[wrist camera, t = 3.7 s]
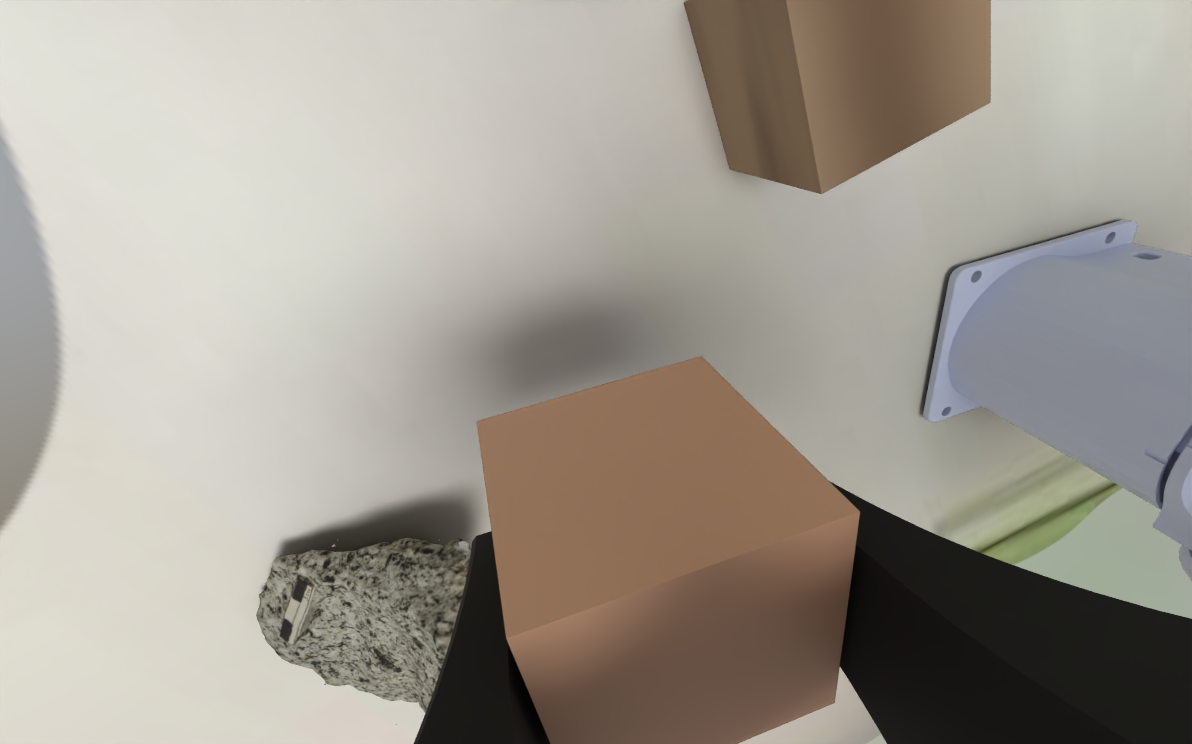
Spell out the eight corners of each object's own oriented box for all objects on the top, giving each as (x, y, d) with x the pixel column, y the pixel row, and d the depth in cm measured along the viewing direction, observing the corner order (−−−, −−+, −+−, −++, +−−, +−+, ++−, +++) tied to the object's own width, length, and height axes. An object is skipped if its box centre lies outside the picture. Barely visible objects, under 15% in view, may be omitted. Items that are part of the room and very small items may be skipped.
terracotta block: (701, 356, 11) (860, 511, 7) (712, 517, 14) (834, 703, 10) (476, 421, 11) (506, 637, 6) (531, 579, 13) (578, 809, 9)
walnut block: (834, -79, 15) (991, -144, 11) (857, 99, 18) (990, 102, 13) (682, 3, 15) (780, -32, 11) (728, 168, 18) (821, 193, 13)
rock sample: (132, 593, 15) (349, 829, 13) (361, 427, 19) (542, 582, 18) (231, 663, 22) (375, 815, 21) (378, 531, 27) (504, 646, 26)
